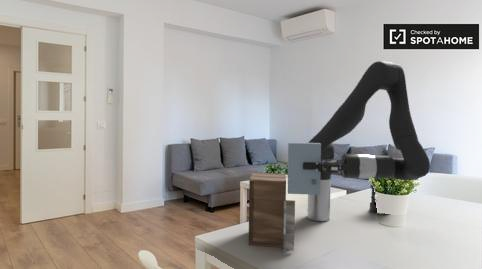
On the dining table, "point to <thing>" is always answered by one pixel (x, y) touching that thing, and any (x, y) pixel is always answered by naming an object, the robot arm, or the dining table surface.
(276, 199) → the cabinet
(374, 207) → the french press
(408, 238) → the dining table surface
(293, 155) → the door
